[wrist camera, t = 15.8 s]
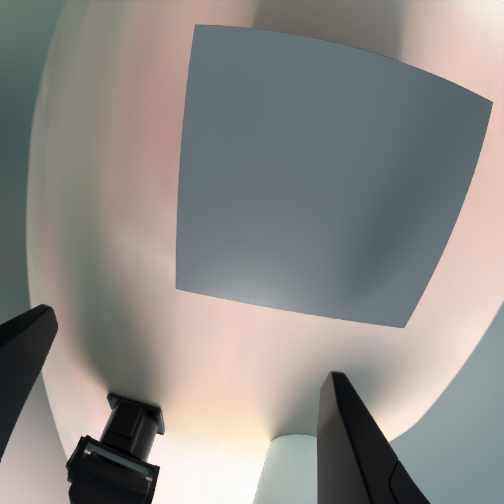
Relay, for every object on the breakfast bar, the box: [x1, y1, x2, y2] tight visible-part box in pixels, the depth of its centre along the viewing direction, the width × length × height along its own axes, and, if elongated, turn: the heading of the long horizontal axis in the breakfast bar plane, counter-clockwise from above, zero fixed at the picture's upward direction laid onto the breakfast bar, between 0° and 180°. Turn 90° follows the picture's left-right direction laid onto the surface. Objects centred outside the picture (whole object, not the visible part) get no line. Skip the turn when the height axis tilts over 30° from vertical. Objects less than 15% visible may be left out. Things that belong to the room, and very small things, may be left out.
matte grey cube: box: [176, 25, 493, 328], centre depth 12 cm, size 8×8×9 cm
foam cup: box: [253, 434, 317, 504], centre depth 27 cm, size 10×9×13 cm
